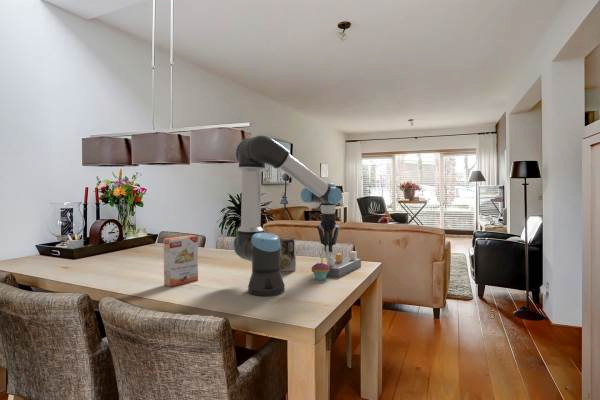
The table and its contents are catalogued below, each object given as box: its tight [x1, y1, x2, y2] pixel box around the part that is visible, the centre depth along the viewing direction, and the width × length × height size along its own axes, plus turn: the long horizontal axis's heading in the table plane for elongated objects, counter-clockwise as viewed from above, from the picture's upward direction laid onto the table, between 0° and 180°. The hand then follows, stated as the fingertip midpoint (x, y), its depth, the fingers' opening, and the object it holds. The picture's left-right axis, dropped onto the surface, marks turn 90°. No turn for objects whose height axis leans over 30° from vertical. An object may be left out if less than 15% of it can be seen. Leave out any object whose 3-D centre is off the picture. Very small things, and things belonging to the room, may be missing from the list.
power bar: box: [326, 256, 362, 278], centre depth 178 cm, size 26×9×4 cm, turn 147°
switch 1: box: [326, 255, 335, 266], centre depth 171 cm, size 3×2×4 cm
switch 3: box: [349, 250, 358, 260], centre depth 184 cm, size 3×2×4 cm
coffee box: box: [279, 237, 297, 272], centre depth 179 cm, size 9×6×16 cm
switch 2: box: [335, 252, 344, 263], centre depth 179 cm, size 3×2×4 cm
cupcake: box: [311, 252, 330, 281], centre depth 163 cm, size 9×8×12 cm
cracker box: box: [163, 234, 199, 288], centre depth 157 cm, size 14×6×21 cm, turn 139°
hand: (328, 258), depth 182 cm, fingers closed
